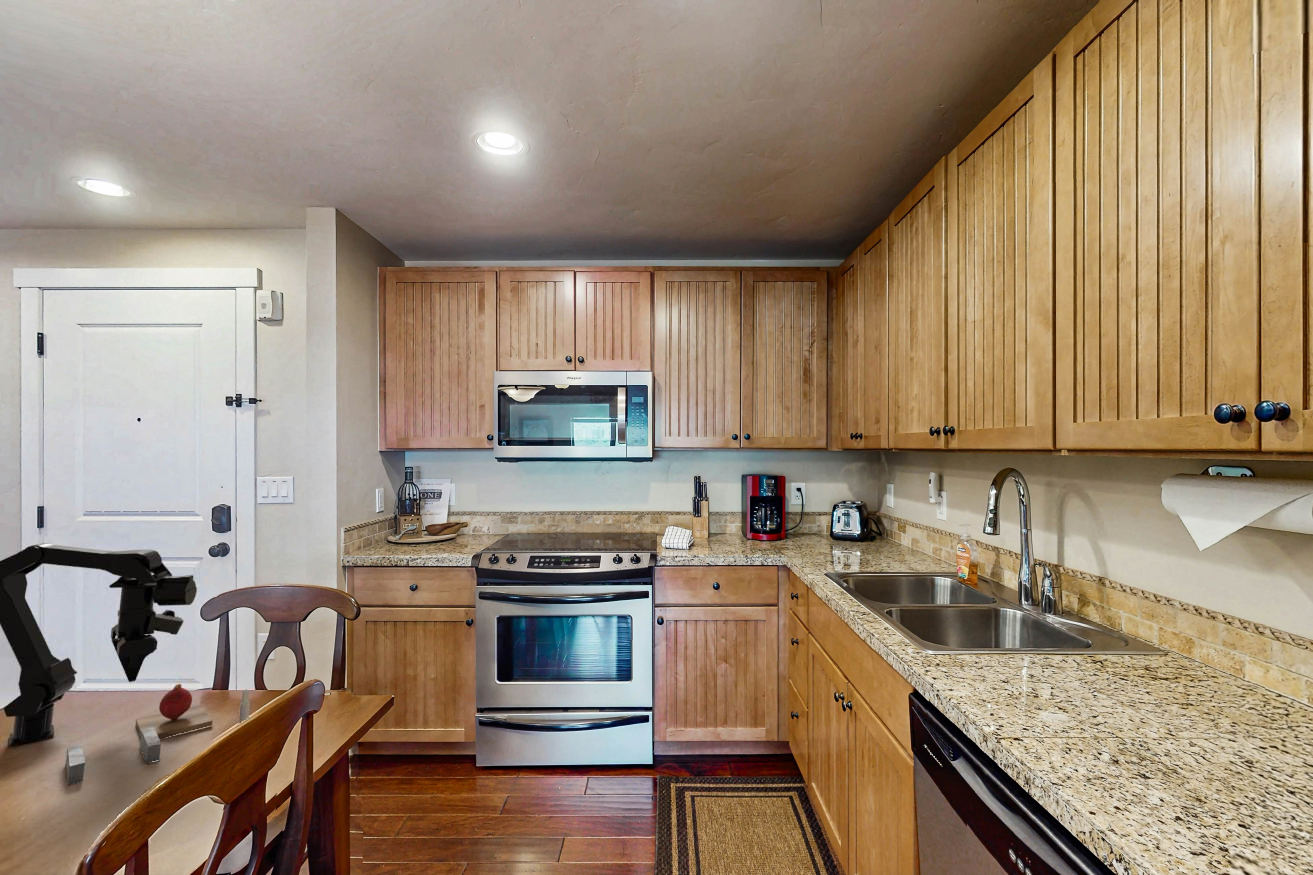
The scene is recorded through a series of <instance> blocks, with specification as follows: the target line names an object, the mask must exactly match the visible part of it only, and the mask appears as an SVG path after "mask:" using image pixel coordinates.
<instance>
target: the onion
mask: <svg viewBox="0 0 1313 875" xmlns="http://www.w3.org/2000/svg"><path fill="white" fill-rule="evenodd" d="M192 703H193V696H192V694H191V692H190V691H189V690H187V689H186V688H184V687H182V684H180V683H176V684H175V686H174V687H173V689H171V690H169V691H168V692H167V693H166V694H165V695H164V696H162V699H161V700H160V702H159V712H160V714H162V715H163V716H164V717H166V718H168V719H171V720H176V719H178V718H179V717H180V716H181V715H183V714H184V713H185V712H186V711H187V710H188V709H189V708H190V707H192V706H191V705H192Z"/></svg>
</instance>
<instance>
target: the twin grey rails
mask: <svg viewBox="0 0 1313 875" xmlns="http://www.w3.org/2000/svg"><path fill="white" fill-rule="evenodd" d="M139 742H140V743H139V748H140V747H141V749H142V751H141V753H142V752H143V754H142V756H143V755H144V757H143V759H144V758H145V760H144V762H145V761H146V763H149V762H152V761H156V760H159V761H160V758H161V757H160V756H161V747H162V743H161V740H159V738H158V735H157V733H156V731H155V729H154V727H152V728H148V729H144V730H141V739H140V741H139ZM141 749H140V750H141ZM146 763H145V764H146ZM85 764H86V761H85V755H84V750H83V744H82V743H79V744H74V745H70V746H67V750H66V758H65V771H66V772H65V773H66V782H67V783H68V784H67V786H70V784H72V785H75V784H78V783H77V782H79V783H81V781H84V772H85V766H86V765H85ZM74 783H75V784H74Z"/></svg>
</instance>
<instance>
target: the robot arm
mask: <svg viewBox="0 0 1313 875" xmlns="http://www.w3.org/2000/svg"><path fill="white" fill-rule="evenodd" d="M45 564H46V565H55V566H62V567H73V568H82V569H83V568H84V569H95V570H101V571H103V572H104V571H105V572H107V573H109V574H112V575H114V576H117V577H119V578H118V579H116V581H114V582H113V583H111V584H109V588H110V589H118V588H119V589H121V590H120V591H121V592H120V601H119V610H117V617H118V620H117V624H115V625H114V626H113V627H112V628H111V630H110V639H111V643H112V645H113V647H114V650H115V652H116V655H117V657H118V660H119V662H120V664H121V668H122V669H123V671H124V673H125V676H126V678H127V681H128V682H129V683H133V682H135V681H136V680H137V678H138V676H139V673H140V671H141V668H142V666H143V664H144V660H145V659H146V658H147V657H148V656H149V655H151V654H153V653H155V651H156V650H157V649H158V640H157V638H156V637H155V636H153V635H154V634H155V632H161V633H167V634H170V635H176V636H177V635H178V633H179V631H180V630H181V628H182V625H183V623H184V622H185V621H184V619H183V618H182V617H179V616H176V612H175V611H174V610H172V609H166V610H164V612H162V613H157V611H156V610H155V608H154V604H157V605H158V606H160V607H162V606H164V607H165V606H168V607H169V606H190V605H192V604H193V603H194V601H195V600H196V599H195V598H196V596H197V592H198V587H197V585H196V582H195V580H194V574H190V575H189V574H186V575H176V576H175V575H173V574H172V572H171V571H170V570H169V568H167V566H166V565H165V564H164V562H163V559H162V556H161V554H160V553H159V551H156V550H155V549H132V550H115V551H112V550H103V549H93V548H87V547H77V546H76V547H75V546H69V545H67V546H66V545H59V544H52V543H48V542H46V543H45V542H43V543H38V544H31V545H29V546H27V547H26V548H24V549H22V550H21V551H17V553H15V554H13V555H11V556H7V557H5V558H4V559H1V560H0V627H1V630H2V631H3V633H4V636H5V639H6V640H7V641H8V644H9V646H10V648H11V651H12V652H13V655H14V656H15V658H16V661H17V663H18V664H19V667H20V673H19V680H18V689H19V693H20V694H19V696H17V697H16V698H15V699H12V701H11V702H9V703H8V704H7V705H5V706H4V708H3V710H4V713H5V716H6V717H7V718H11V717H12V718H13V717H14V719H13V720H14V721H13V729H12V733H10V734H9V738H8V747H13V746H18V745H23V744H28V743H31V742H32V743H33V742H36V741H40V740H46V739H50V738H53V737H55V726H54V724H53V717H54V709H55V703H57V702H58V701H61V700H62V699H63V697H64V696H65V694H66V693H67V692H69V691H70V690H71V689H72V688H73V686H74V685H75V683H76V676H75V675H76V674H78V672H77V670H75V669H74V667H73V666H72V661H71V659H70V658H69V657H66V658H64V659H62V660H61V659H59V658H57V657H56V656H54V655H53V654H52V651H51V650H50V648H49V645H48V644H47V641H46V639H45V637H44V636H43V633H42V631H41V629H40V627H39V624H38V623H37V621H36V618H35V616H34V614H33V612H32V610H31V608H30V606H29V603H28V601H27V599H26V593H27V588H28V580H27V575H28V574H30V573H32V572H34V571H35V570H37V569H38V568H40V567H41V566H42V565H45Z"/></svg>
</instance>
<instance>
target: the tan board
mask: <svg viewBox="0 0 1313 875" xmlns="http://www.w3.org/2000/svg"><path fill="white" fill-rule="evenodd" d="M135 725H136V726H135V729H136V728H137V729H136V731H137V730H138V731H137V734H138V733H139V734H138V736H140V737H139V739H140V738H141V730H144V729H148V728H152V727H154V729H155V731H156V733H157V735H158V738H159V739H162V740H164V739H163V738H166V737H169V736H173V735H176V734H179V733H184V732H188V731H191V730H195V729H199V728H203V727H207V726H211V725H212V726H213V719H212V718H211V716H210V715H209V713H208V712H207V709H205V707H204V705H203V704H199V705H194V706H190V708H189V709H188V710H187V711H186V712H185V713H184V714H183V715H181V716H180V717H179V718H178V719H176V720H171V719H168V718H166V717H164V716H163V715H162V714H161V713H158V714H152V715H148V716H143V717H138V718H136V719H135ZM166 739H167V738H166Z"/></svg>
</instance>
